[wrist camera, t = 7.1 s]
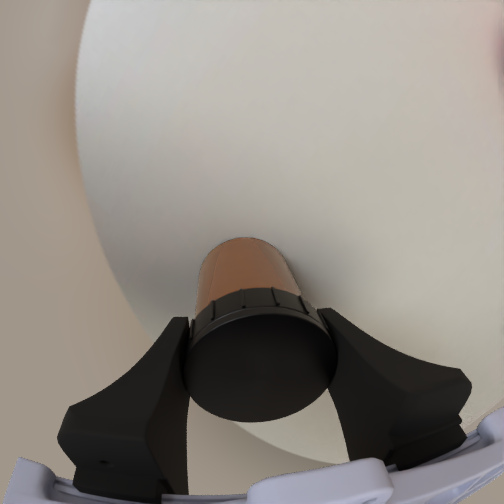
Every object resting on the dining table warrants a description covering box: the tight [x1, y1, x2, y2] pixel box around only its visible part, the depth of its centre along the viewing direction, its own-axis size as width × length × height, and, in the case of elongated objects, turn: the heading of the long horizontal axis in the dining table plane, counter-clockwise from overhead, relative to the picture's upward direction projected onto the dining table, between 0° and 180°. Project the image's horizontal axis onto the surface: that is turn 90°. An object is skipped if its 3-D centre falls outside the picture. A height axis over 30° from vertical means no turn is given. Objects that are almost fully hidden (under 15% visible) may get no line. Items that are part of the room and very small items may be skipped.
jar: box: [195, 238, 304, 318], centre depth 14 cm, size 5×5×7 cm
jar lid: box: [182, 287, 337, 422], centre depth 11 cm, size 6×6×2 cm
